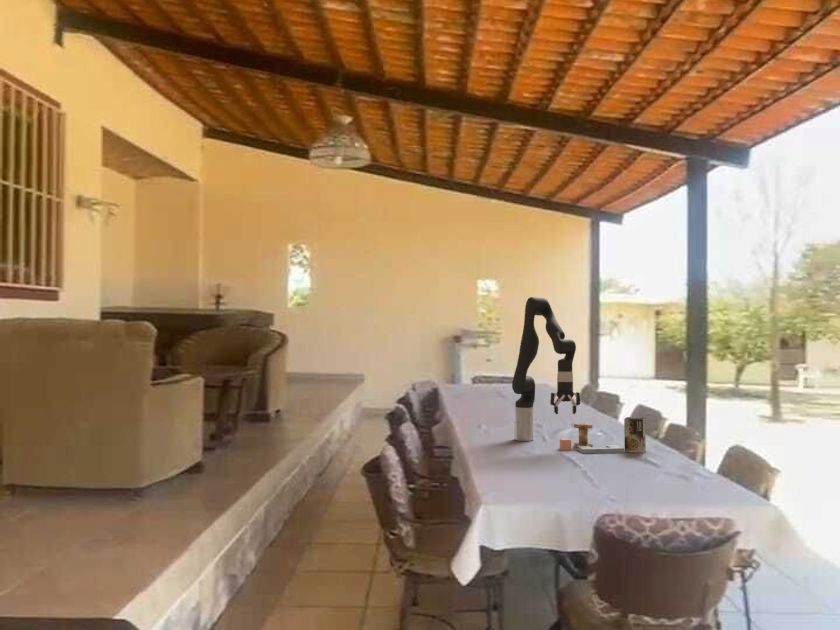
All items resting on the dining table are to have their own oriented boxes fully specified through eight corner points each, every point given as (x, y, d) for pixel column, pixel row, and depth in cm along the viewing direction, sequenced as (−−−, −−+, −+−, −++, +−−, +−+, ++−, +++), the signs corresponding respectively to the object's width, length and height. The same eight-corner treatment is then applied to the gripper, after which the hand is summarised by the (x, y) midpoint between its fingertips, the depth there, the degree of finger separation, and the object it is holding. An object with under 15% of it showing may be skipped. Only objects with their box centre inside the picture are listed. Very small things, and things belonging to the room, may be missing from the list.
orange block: (562, 450, 422) (562, 440, 422) (559, 448, 426) (559, 438, 426) (571, 450, 422) (571, 439, 422) (568, 448, 427) (568, 438, 427)
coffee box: (646, 451, 417) (645, 417, 417) (643, 453, 412) (643, 419, 411) (626, 450, 421) (626, 416, 421) (624, 452, 415) (623, 418, 415)
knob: (576, 448, 427) (576, 425, 427) (571, 445, 436) (571, 423, 436) (594, 447, 428) (594, 425, 428) (589, 444, 437) (589, 422, 437)
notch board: (583, 453, 412) (583, 449, 412) (577, 450, 422) (577, 445, 422) (624, 452, 414) (624, 448, 414) (617, 449, 424) (617, 445, 424)
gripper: (552, 381, 419) (552, 415, 420) (581, 381, 421) (581, 414, 421) (548, 380, 427) (549, 413, 427) (577, 379, 428) (577, 412, 428)
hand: (565, 413), depth 424 cm, fingers open, 8 cm apart
